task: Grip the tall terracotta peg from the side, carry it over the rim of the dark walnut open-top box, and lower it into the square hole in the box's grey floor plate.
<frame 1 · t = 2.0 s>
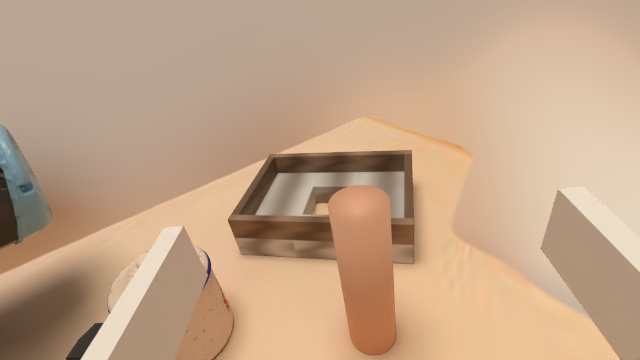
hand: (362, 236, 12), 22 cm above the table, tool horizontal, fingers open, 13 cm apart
peg: (372, 332, 32), on the table
teacup with lid: (184, 330, 36), on the table
box: (332, 216, 48), on the table
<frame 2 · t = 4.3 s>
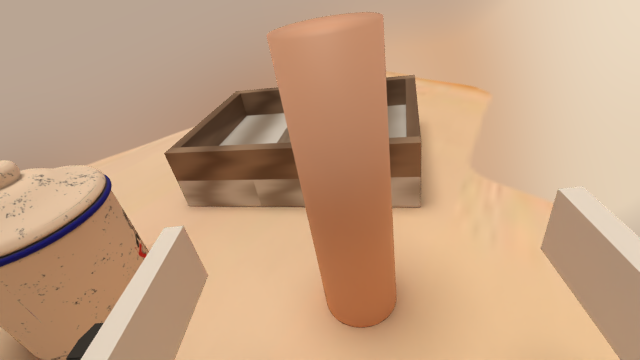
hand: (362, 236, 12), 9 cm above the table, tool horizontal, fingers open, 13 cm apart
peg: (360, 295, 21), on the table
teacup with lid: (90, 300, 25), on the table
box: (313, 161, 37), on the table
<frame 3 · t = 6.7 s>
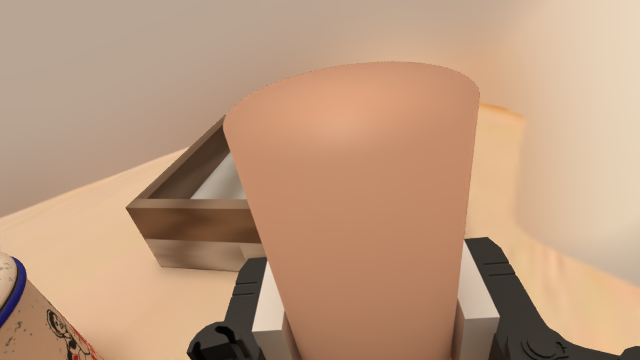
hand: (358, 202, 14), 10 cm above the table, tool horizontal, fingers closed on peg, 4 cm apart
box: (315, 205, 30), on the table
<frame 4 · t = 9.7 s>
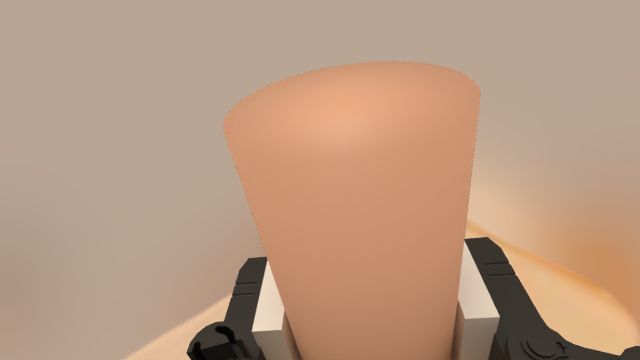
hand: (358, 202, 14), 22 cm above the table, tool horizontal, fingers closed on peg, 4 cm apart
when the fingers open (11 cm above the table, at t = 12.7 s): peg drops 1 cm, resting in box.
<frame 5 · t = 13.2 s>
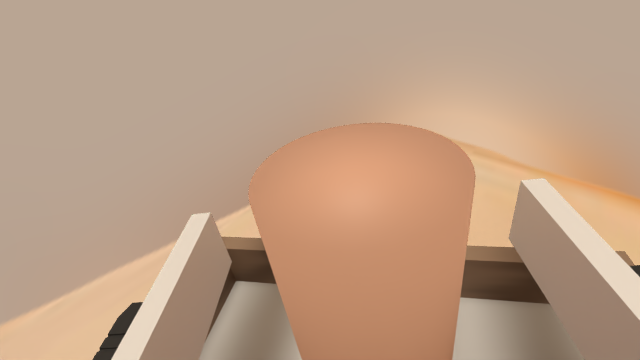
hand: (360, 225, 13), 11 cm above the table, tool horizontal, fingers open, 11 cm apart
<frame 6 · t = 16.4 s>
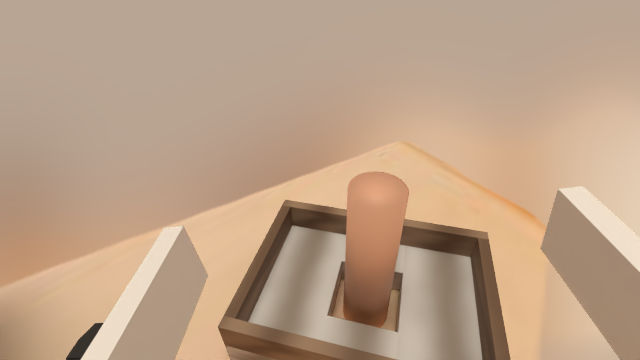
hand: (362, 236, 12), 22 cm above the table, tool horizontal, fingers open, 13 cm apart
peg: (364, 310, 34), resting in box
box: (365, 310, 34), on the table
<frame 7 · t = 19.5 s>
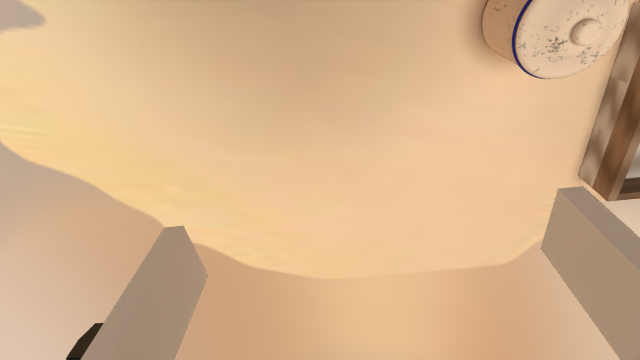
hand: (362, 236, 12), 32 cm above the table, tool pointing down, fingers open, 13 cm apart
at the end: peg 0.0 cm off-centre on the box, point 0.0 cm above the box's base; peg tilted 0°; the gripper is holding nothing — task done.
